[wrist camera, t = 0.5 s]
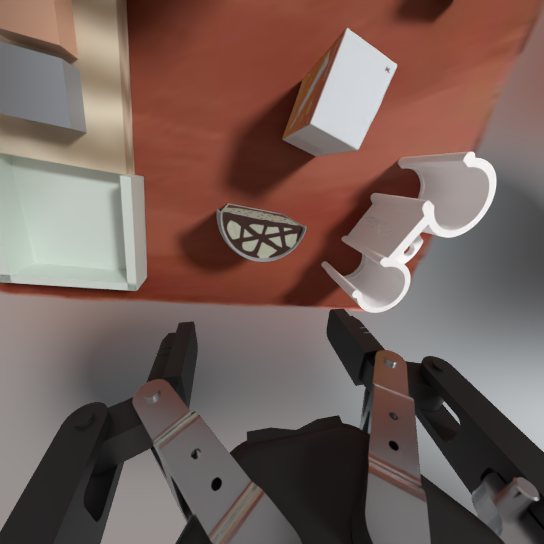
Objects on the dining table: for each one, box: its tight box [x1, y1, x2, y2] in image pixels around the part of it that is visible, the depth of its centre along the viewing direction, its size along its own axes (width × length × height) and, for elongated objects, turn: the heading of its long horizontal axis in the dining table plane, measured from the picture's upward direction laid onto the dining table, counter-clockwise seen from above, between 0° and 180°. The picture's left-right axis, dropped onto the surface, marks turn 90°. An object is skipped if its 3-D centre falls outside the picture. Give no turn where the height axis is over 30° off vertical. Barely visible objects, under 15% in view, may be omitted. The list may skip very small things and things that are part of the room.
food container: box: [217, 203, 307, 262], centre depth 34 cm, size 12×6×10 cm, turn 77°
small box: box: [282, 28, 397, 156], centre depth 28 cm, size 8×6×13 cm
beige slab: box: [0, 0, 135, 175], centre depth 25 cm, size 20×14×3 cm
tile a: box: [0, 0, 78, 59], centre depth 21 cm, size 6×6×3 cm
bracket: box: [322, 152, 496, 313], centre depth 37 cm, size 25×10×12 cm, turn 144°
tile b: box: [0, 42, 87, 133], centre depth 24 cm, size 6×6×3 cm
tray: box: [0, 153, 147, 291], centre depth 31 cm, size 16×16×5 cm
